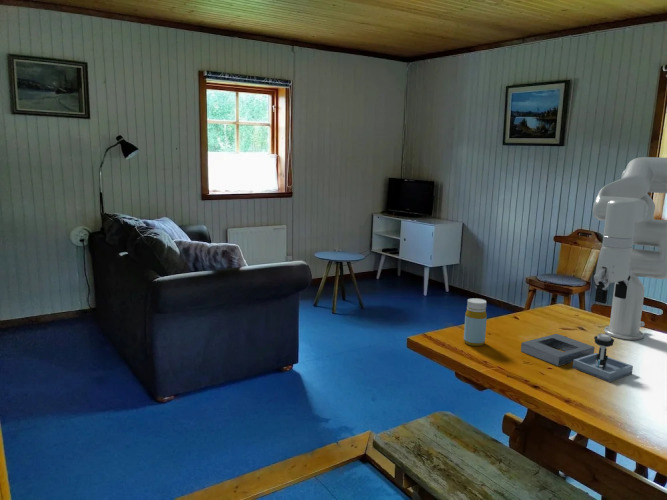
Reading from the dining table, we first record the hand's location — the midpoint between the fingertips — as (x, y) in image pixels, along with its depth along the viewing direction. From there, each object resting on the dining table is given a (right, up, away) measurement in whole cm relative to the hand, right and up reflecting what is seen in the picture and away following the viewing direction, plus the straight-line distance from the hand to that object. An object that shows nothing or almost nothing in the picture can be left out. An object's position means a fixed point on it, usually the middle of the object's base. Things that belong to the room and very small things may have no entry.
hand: (610, 300), depth 153 cm
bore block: (-8, -19, +17) cm, 27 cm away
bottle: (-33, -17, +25) cm, 45 cm away
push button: (-1, -21, +4) cm, 21 cm away
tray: (0, -22, +4) cm, 22 cm away
